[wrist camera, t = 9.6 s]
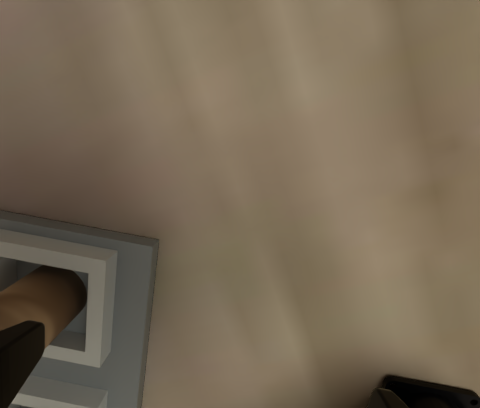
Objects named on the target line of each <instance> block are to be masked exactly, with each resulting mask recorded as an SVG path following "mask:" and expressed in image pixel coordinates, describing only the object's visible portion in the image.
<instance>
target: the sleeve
mask: <svg viewBox="0 0 480 408" xmlns="http://www.w3.org/2000/svg"><path fill="white" fill-rule="evenodd" d="M86 301H87V292H86V288H85V285H84V283H83V281H82V280H81V278H80V277H79V276H78V275H77V274H76V273H75V272H74V271H72V270H69V269H63V268H58V267H53V266H47V265H42V266H40V267H38V268H37V269H35V270H34V271H32V272H31V273H29V274H27V275H26V276H24V277H23V278H21V279H20V280H18V281H17V282H15V283H14V284H12V285H11V286H9V287H8V288H6V289H5V290H3V291H1V292H0V331H1V330H4V329H6V328H9V327H11V326H14V325H16V324H19V323H21V322H24V321H27V320H33V321H38V322H42V323H44V325H45V348H46V347H47V346H48V345H49V344H50V343H51V342H52V341H53V340H54V339H55V338H56V337H57V336H58V335H59V334H60V333H61V332H62V331H63V330H64V329H65V328H66V326H67V325H68V324H69V323H70V322H71V321H72V320H73V319H74V318H75V317H76V316H77V315H78V314H79V313H80V312H81V311H82V310H83V308H84V307H85V304H86Z"/></svg>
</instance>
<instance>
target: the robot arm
mask: <svg viewBox="0 0 480 408" xmlns="http://www.w3.org/2000/svg"><path fill="white" fill-rule="evenodd" d="M44 350H45V325H44V323H42V322H38V321H33V320H27V321H24V322H21V323H19V324H16V325H14V326H11V327H9V328H6V329H4V330H1V331H0V408H8V407H9V406H10V404H11V403H12V401H13V400H14V398H15V397H16V395H17V394H18V392H19V391H20V389H21V388H22V386H23V385H24V383H25V382H26V380H27V379H28V377H29V376H30V374H31V373H32V371H33V370H34V368H35V366H36V365H37V363H38V362H39V360H40V359H41V357H42V355H43V353H44ZM391 384H393V385H391ZM367 408H480V397H479V396H478V395H477V394H476V393H475V392H472V391H467V390H461V389H456V388H451V387H446V386H441V385H435V384H430V383H425V382H420V381H415V380H410V379H404V378H399V377H394V376H389V377H387V378H385V379H384V381H383V384H382V387H381V388H375V389H374V390H373V392H372V395H371V398H370V401H369V404H368V406H367Z"/></svg>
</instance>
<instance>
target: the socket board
mask: <svg viewBox="0 0 480 408" xmlns="http://www.w3.org/2000/svg"><path fill="white" fill-rule="evenodd" d="M158 246H159V240H157V239H152V238H146V237H141V236H136V235H130V234H125V233H119V232H114V231H109V230H103V229H98V228H92V227H87V226H82V225H76V224H71V223H65V222H60V221H55V220H49V219H44V218H39V217H33V216H28V215H22V214H17V213H12V212H6V211H1V210H0V292H1V291H3V290H5V289H6V288H8V287H9V286H11V285H12V284H14V283H15V282H17V281H18V280H20V279H21V278H23V277H24V276H26V275H27V274H29V273H31V272H32V271H34V270H35V269H37V268H38V267H40V266H42V265H47V266H53V267H58V268H63V269H69V270H72V271H74V272H75V273H76V274H77V275H78V276H79V277H80V278H81V280H82V281H83V283H84V285H85V288H86V292H87V301H86V304H85V307H84V308H83V310H82V311H81V312H80V313H79V314H78V315H77V316H76V317H75V318H74V319H73V320H72V321H71V322H70V323H69V324H68V325H67V326H66V328H65V329H64V330H63V331H62V332H61V333H60V334H59V335H58V336H57V337H56V338H55V339H54V340H53V341H52V342H51V343H50V344H49V345H48V346H47V347H46V348H45V350H44V353H43V355H42V357H41V359H40V360H39V362H38V363H37V365H36V366H35V368H34V370H33V371H32V373H31V374H30V376H29V377H28V379H27V380H26V382H25V383H24V385H23V386H22V388H21V389H20V391H19V392H18V394H17V395H16V397H15V398H14V400H13V401H12V403H11V404H10V406H9V407H8V408H141V406H142V397H143V387H144V378H145V368H146V359H147V350H148V340H149V331H150V321H151V312H152V303H153V293H154V284H155V274H156V265H157V255H158Z"/></svg>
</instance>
